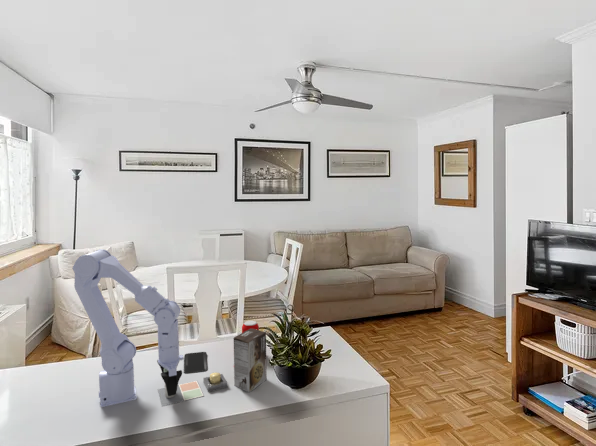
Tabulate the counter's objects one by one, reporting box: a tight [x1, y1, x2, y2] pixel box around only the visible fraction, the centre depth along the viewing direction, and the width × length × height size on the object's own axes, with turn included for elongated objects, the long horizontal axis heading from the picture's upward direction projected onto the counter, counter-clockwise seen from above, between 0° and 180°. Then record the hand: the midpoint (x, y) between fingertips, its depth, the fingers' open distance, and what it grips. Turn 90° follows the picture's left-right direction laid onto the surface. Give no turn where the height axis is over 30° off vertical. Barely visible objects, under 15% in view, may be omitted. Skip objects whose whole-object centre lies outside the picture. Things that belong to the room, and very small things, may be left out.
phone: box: [183, 351, 209, 375], centre depth 135 cm, size 8×1×15 cm
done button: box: [209, 372, 221, 385], centre depth 120 cm, size 3×3×2 cm
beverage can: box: [241, 320, 260, 333], centre depth 143 cm, size 6×6×12 cm
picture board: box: [157, 380, 205, 407], centre depth 116 cm, size 12×10×1 cm
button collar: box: [203, 373, 228, 393], centre depth 120 cm, size 6×6×2 cm
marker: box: [163, 368, 176, 398], centre depth 114 cm, size 3×3×8 cm
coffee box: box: [233, 328, 267, 393], centre depth 122 cm, size 9×6×16 cm
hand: (170, 388), depth 114 cm, fingers open, 7 cm apart
